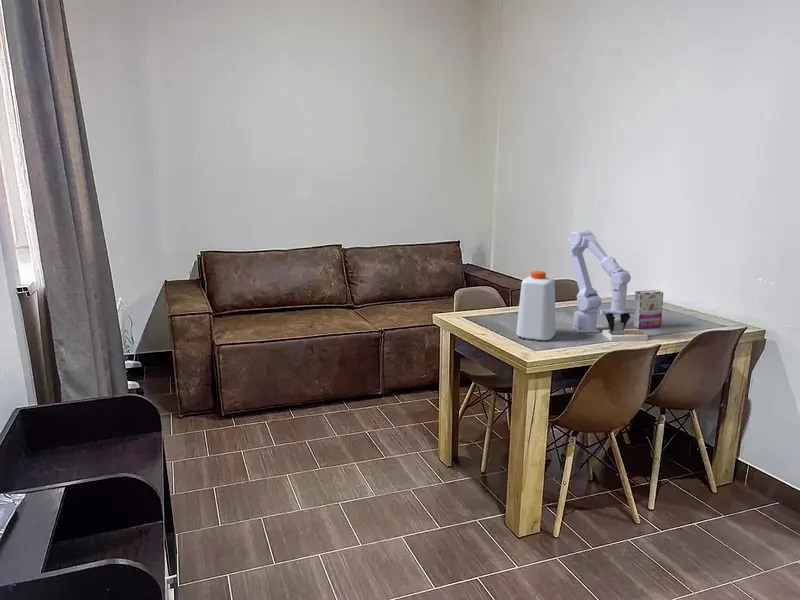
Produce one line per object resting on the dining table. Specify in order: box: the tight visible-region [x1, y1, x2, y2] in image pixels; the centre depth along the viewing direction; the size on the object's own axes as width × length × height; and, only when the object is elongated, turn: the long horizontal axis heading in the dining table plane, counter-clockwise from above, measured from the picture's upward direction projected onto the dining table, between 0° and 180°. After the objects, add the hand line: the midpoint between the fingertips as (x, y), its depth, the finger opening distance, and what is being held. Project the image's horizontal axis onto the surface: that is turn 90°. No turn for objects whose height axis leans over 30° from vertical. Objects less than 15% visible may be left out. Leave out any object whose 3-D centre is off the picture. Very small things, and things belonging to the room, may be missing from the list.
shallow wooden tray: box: [601, 328, 649, 342], centre depth 254 cm, size 15×10×2 cm, turn 92°
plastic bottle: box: [515, 270, 557, 341], centre depth 255 cm, size 15×15×28 cm
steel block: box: [610, 319, 624, 335], centre depth 253 cm, size 4×4×7 cm
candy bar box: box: [632, 289, 664, 330], centre depth 268 cm, size 11×5×16 cm, turn 101°
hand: (616, 330), depth 254 cm, fingers closed on steel block, 4 cm apart
